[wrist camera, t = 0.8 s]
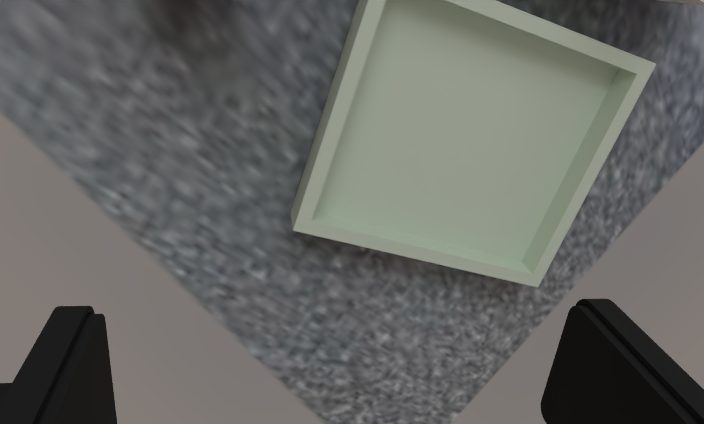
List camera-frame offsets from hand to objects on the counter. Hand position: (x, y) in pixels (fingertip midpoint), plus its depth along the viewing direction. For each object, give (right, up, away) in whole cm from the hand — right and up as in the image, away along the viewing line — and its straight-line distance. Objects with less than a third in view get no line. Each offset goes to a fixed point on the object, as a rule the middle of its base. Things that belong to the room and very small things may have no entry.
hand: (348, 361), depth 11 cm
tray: (+8, +9, +29) cm, 31 cm away
